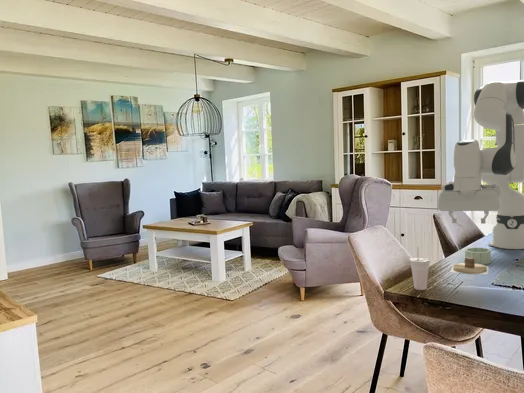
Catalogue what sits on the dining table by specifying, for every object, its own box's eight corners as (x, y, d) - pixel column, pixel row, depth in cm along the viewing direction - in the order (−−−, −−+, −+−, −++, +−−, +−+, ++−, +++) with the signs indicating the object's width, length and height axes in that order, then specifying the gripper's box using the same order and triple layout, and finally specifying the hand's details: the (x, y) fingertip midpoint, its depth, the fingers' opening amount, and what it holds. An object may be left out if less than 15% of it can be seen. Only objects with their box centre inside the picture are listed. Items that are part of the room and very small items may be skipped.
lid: (455, 264, 171) (454, 254, 170) (487, 266, 165) (486, 255, 165) (452, 272, 161) (451, 261, 161) (486, 274, 156) (485, 262, 155)
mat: (453, 265, 171) (453, 264, 171) (488, 267, 165) (488, 266, 165) (450, 273, 161) (450, 272, 161) (487, 276, 155) (487, 274, 155)
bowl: (466, 259, 180) (465, 247, 179) (491, 260, 175) (491, 248, 175) (464, 264, 172) (463, 252, 171) (490, 266, 167) (490, 253, 167)
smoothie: (406, 287, 148) (404, 246, 147) (420, 284, 151) (418, 243, 150) (421, 292, 142) (419, 249, 141) (435, 288, 145) (433, 246, 144)
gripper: (500, 183, 158) (501, 222, 159) (439, 185, 168) (440, 221, 169) (500, 184, 153) (501, 224, 154) (436, 186, 163) (437, 224, 164)
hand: (468, 223), depth 162 cm, fingers open, 8 cm apart
